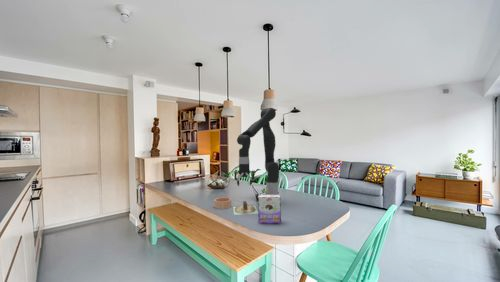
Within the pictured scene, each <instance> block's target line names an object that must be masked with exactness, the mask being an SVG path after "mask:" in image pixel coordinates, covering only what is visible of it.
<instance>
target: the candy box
mask: <svg viewBox="0 0 500 282" xmlns="http://www.w3.org/2000/svg"><path fill="white" fill-rule="evenodd" d="M281 204H282V203H281V195H280V194H279V195H267V194H258V196H257V206H258V207H257V211H258V214H257V216H258V224H282V215H281V214H282V209H281Z"/></svg>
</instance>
